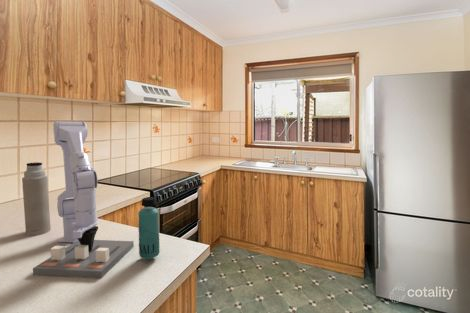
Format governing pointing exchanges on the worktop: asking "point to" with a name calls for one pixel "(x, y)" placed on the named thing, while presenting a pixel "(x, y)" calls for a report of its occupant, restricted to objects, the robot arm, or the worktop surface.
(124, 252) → the switch panel
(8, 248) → the worktop surface
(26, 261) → the worktop surface
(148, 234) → the beverage bottle
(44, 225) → the thermos bottle
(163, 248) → the worktop surface
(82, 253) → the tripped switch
